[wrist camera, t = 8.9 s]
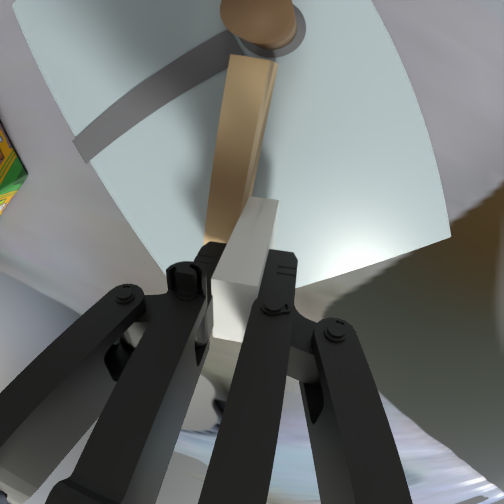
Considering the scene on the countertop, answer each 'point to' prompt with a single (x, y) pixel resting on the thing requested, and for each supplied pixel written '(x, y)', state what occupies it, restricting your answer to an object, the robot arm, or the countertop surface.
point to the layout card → (276, 131)
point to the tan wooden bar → (238, 142)
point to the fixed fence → (261, 21)
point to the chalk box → (9, 171)
